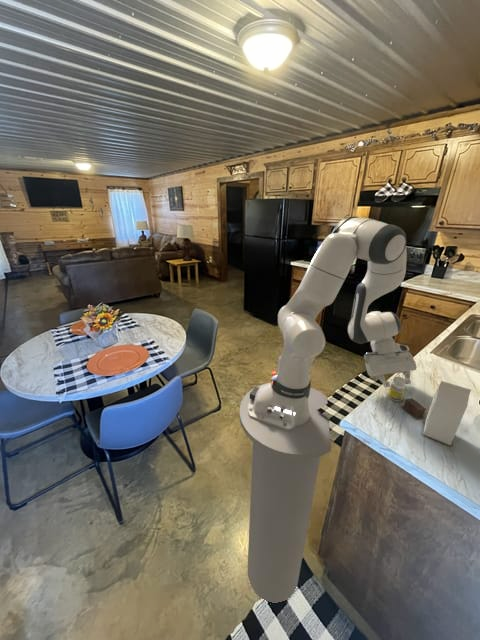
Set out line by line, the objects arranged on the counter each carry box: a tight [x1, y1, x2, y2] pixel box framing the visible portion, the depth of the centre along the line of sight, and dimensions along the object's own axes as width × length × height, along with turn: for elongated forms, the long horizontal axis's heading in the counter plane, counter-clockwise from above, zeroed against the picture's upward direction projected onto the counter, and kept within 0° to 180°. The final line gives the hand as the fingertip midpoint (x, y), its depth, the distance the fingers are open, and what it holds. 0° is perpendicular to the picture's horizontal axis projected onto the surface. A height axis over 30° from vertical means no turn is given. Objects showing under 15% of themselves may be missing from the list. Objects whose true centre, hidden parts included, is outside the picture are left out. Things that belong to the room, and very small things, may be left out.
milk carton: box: [423, 380, 472, 446], centre depth 82 cm, size 7×7×19 cm
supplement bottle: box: [387, 376, 406, 402], centre depth 101 cm, size 5×5×8 cm
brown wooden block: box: [402, 397, 427, 420], centre depth 94 cm, size 6×3×4 cm, turn 13°
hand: (397, 385), depth 100 cm, fingers open, 8 cm apart
